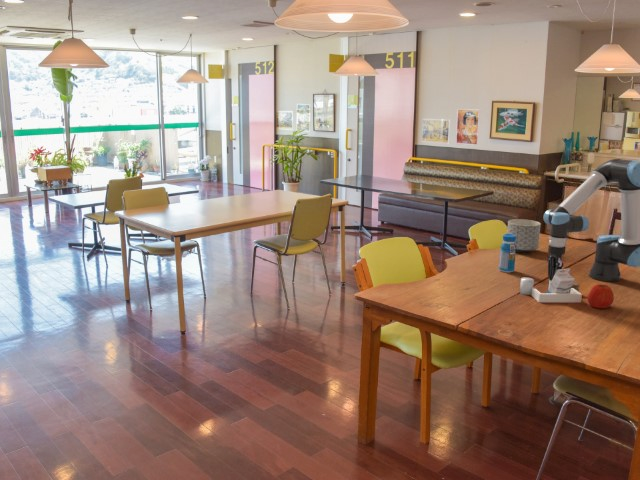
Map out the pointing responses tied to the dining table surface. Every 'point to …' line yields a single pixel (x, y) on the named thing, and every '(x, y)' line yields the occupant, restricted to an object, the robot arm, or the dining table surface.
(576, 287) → the grey-brown cube
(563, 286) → the ink box
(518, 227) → the planter
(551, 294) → the display bracket
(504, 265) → the beverage bottle
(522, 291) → the glossy white capsule
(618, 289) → the dining table surface
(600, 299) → the apple
